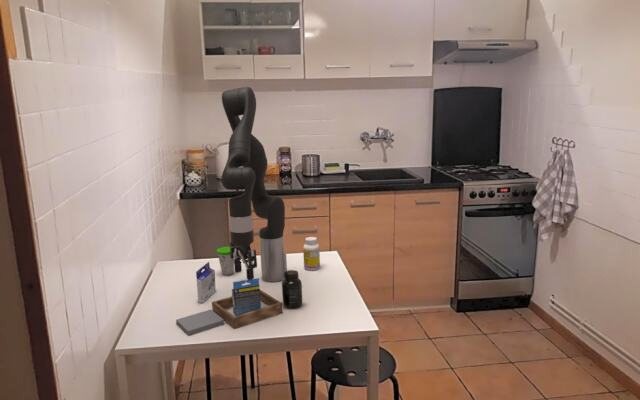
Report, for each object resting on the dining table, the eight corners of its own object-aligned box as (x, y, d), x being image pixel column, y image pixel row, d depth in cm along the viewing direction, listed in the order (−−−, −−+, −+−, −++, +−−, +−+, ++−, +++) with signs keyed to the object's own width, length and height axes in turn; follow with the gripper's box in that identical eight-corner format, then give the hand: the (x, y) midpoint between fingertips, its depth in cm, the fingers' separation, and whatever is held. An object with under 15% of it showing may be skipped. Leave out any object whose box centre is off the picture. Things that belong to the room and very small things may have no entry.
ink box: (203, 303, 178) (201, 272, 176) (197, 303, 179) (195, 272, 176) (216, 290, 189) (214, 261, 187) (210, 290, 190) (208, 261, 187)
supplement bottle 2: (302, 266, 212) (301, 236, 209) (317, 264, 213) (317, 235, 210) (305, 271, 205) (304, 241, 203) (321, 269, 207) (320, 239, 204)
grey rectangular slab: (211, 313, 170) (210, 309, 170) (224, 324, 162) (223, 319, 162) (176, 323, 163) (176, 319, 163) (188, 335, 155) (188, 331, 155)
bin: (258, 297, 182) (258, 288, 181) (282, 312, 169) (282, 303, 168) (212, 311, 171) (211, 302, 170) (234, 328, 159) (233, 318, 158)
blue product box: (259, 307, 173) (257, 274, 171) (261, 312, 170) (259, 278, 167) (233, 312, 171) (230, 277, 168) (235, 317, 167) (232, 282, 164)
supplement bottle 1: (305, 302, 177) (304, 269, 174) (298, 310, 171) (297, 276, 168) (287, 299, 179) (285, 268, 176) (279, 307, 173) (278, 275, 170)
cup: (213, 275, 204) (211, 239, 201) (227, 269, 211) (224, 234, 207) (228, 278, 200) (226, 242, 197) (241, 272, 207) (239, 237, 203)
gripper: (262, 231, 160) (264, 279, 164) (241, 222, 171) (244, 267, 175) (241, 235, 156) (244, 284, 159) (221, 226, 167) (224, 272, 171)
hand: (244, 275), depth 167 cm, fingers open, 8 cm apart
